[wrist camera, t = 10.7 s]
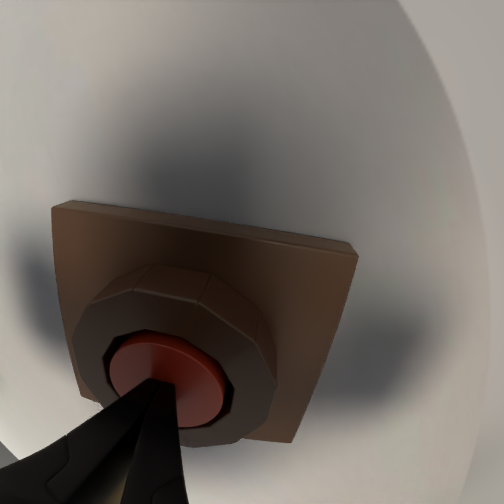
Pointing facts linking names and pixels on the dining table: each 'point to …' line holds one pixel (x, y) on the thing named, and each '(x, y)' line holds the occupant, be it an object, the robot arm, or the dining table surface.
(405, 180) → the dining table surface
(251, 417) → the button block
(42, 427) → the dining table surface
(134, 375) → the button
